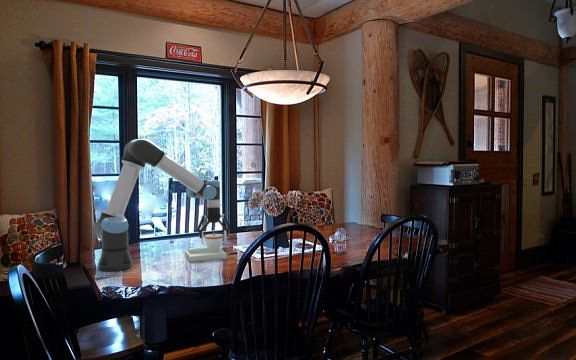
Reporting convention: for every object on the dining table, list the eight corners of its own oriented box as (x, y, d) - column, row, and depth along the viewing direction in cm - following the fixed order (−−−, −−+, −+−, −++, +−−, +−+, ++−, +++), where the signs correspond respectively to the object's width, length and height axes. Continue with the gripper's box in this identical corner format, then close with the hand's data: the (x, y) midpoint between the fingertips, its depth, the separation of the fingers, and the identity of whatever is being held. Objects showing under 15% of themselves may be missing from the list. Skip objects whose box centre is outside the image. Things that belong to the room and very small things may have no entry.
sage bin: (190, 262, 206) (190, 256, 206) (184, 254, 223) (184, 249, 223) (226, 259, 213) (226, 253, 213) (218, 252, 230) (218, 246, 230)
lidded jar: (225, 247, 244) (225, 231, 244) (220, 250, 234) (220, 234, 233) (207, 246, 246) (207, 231, 245) (202, 250, 235) (201, 234, 235)
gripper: (232, 205, 247) (233, 240, 248) (190, 207, 237) (191, 243, 238) (236, 206, 240) (236, 242, 241) (193, 208, 231) (193, 245, 231)
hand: (214, 242), depth 240 cm, fingers open, 13 cm apart
